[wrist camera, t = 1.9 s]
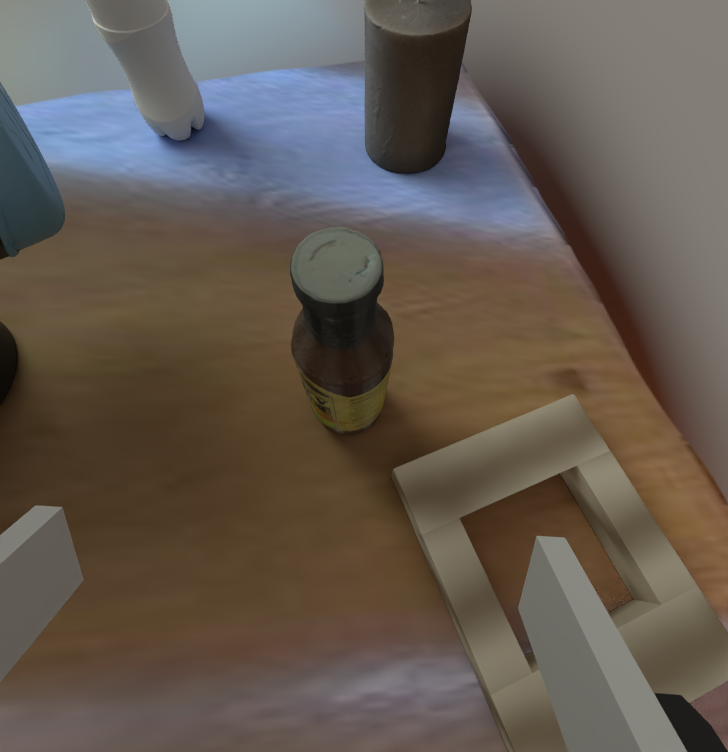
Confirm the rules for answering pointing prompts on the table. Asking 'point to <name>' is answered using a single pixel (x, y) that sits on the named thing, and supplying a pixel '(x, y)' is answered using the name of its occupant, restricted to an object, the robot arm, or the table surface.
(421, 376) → the table surface
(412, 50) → the pillar candle
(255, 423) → the table surface
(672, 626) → the birch stand
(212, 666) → the table surface
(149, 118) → the water bottle
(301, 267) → the sauce bottle
